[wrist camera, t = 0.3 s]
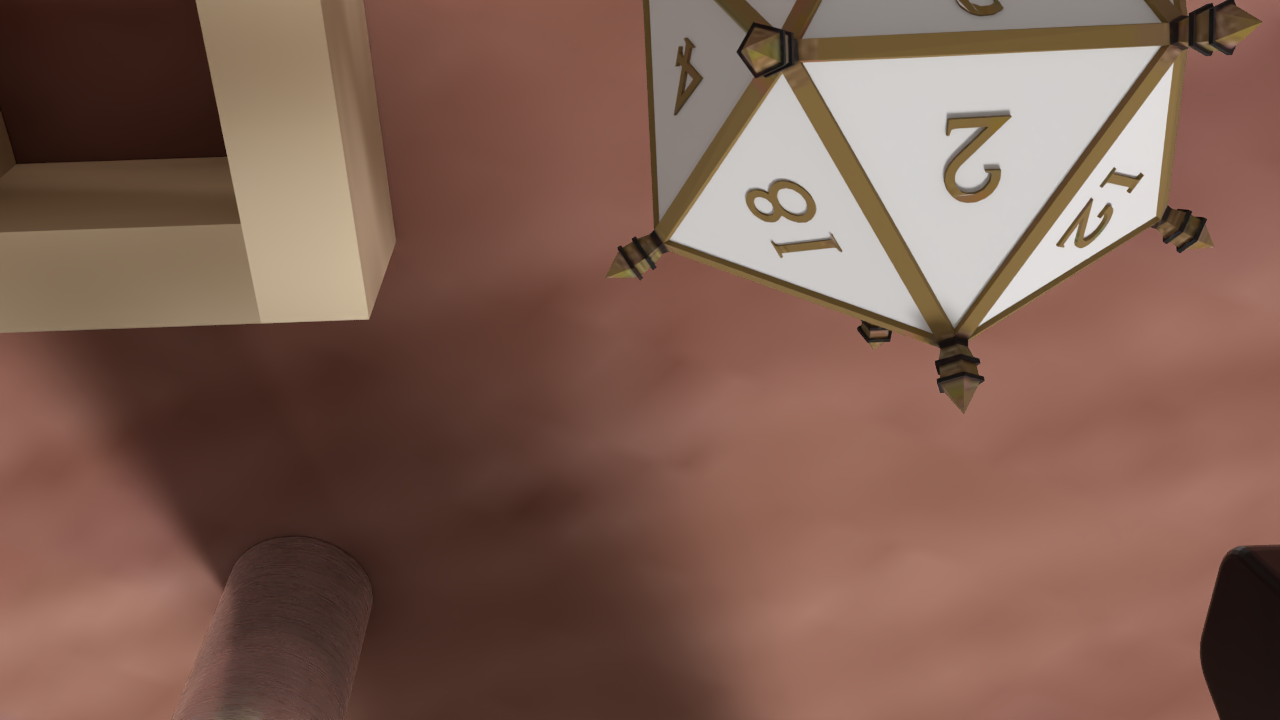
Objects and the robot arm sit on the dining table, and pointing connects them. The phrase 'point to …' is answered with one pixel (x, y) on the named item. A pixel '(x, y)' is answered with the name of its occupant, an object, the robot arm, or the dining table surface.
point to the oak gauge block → (219, 195)
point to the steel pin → (282, 636)
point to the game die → (917, 150)
